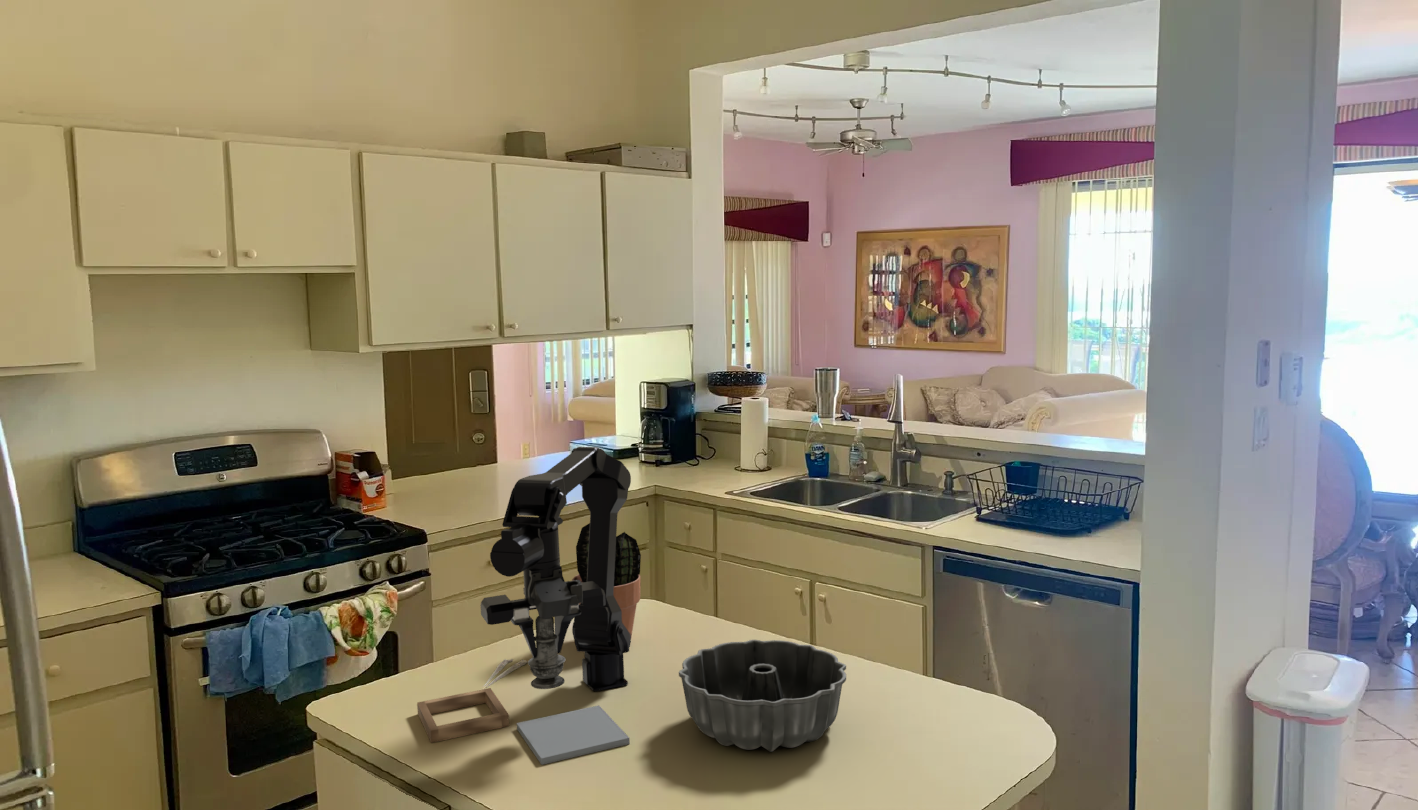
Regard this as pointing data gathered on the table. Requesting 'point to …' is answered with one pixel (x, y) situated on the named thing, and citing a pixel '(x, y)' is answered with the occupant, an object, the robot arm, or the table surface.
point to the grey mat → (571, 734)
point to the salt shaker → (546, 657)
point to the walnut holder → (467, 726)
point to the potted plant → (617, 572)
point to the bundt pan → (763, 692)
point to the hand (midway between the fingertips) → (546, 654)
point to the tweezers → (504, 671)
